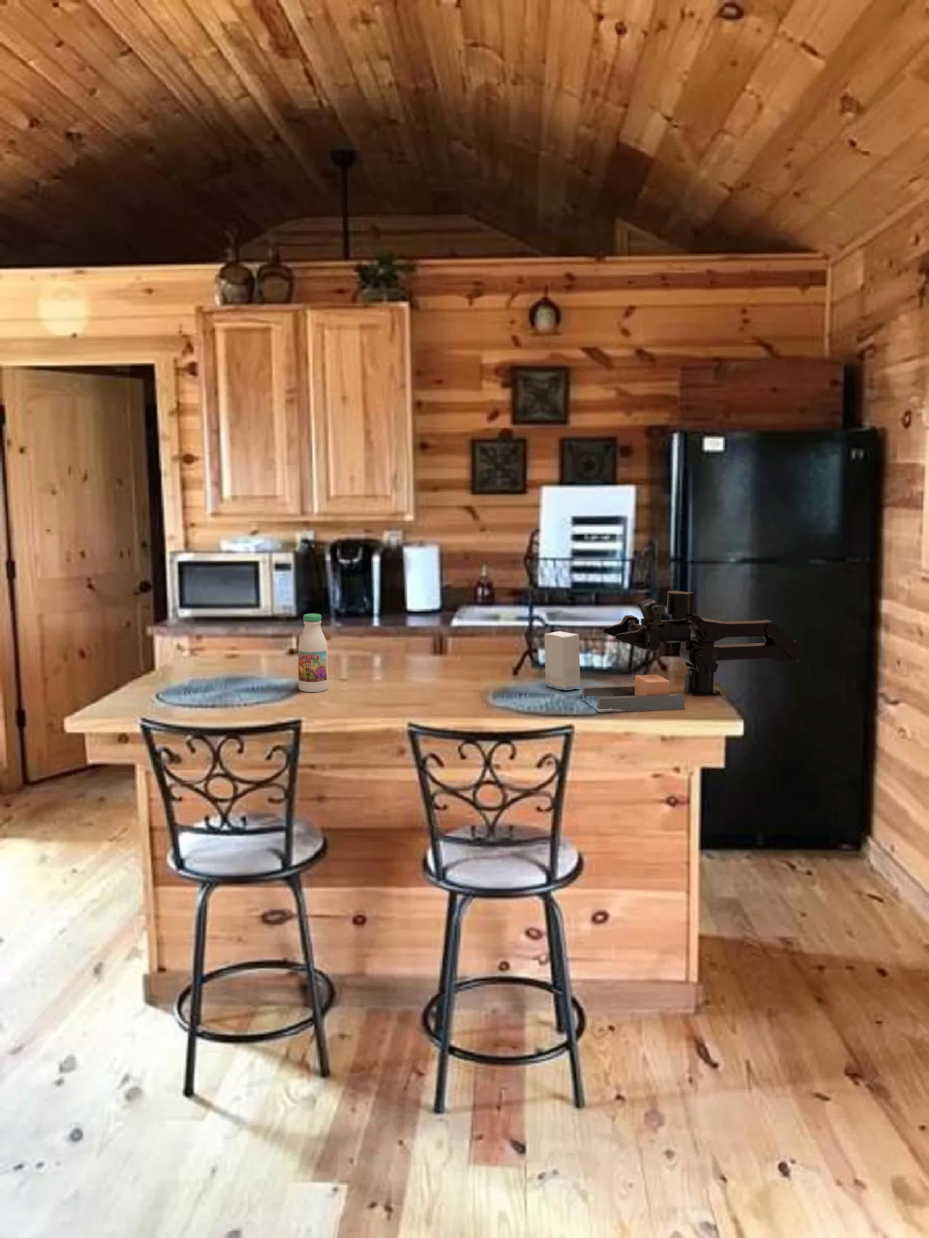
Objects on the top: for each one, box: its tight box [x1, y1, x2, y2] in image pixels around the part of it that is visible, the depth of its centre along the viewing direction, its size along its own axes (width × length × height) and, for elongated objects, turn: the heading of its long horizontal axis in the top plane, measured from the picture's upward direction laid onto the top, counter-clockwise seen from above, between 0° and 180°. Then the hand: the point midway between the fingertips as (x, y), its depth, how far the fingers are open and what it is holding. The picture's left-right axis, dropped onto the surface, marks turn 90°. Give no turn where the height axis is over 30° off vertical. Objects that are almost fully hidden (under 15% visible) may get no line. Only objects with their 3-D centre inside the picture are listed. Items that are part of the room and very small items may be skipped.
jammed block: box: [634, 674, 671, 696], centre depth 259 cm, size 6×8×5 cm
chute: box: [581, 684, 686, 713], centre depth 259 cm, size 22×13×4 cm, turn 102°
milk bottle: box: [297, 613, 329, 693], centre depth 272 cm, size 8×8×20 cm
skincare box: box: [544, 630, 581, 688], centre depth 276 cm, size 8×6×15 cm
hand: (609, 633), depth 264 cm, fingers open, 9 cm apart
